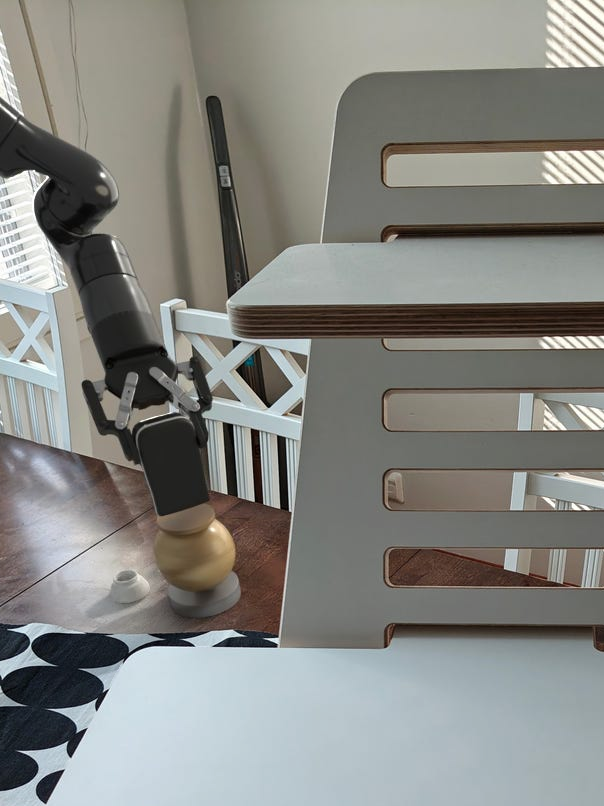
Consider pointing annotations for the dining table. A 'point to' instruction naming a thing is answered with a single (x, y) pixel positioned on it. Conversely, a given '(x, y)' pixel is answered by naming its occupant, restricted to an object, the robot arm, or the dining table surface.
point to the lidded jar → (197, 562)
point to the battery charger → (171, 462)
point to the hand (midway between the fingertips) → (170, 453)
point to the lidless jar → (128, 587)
